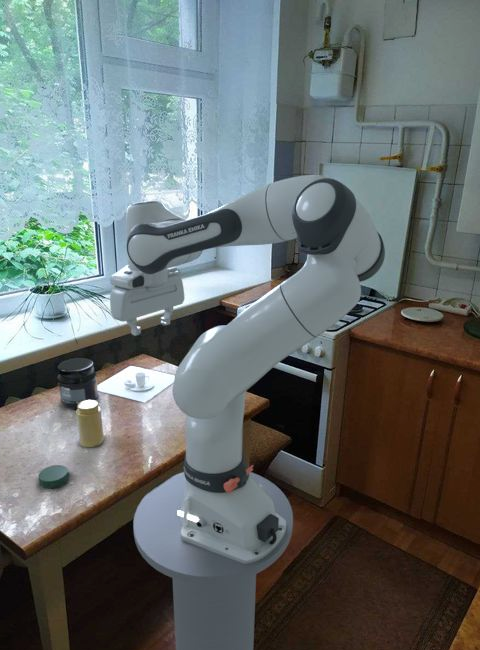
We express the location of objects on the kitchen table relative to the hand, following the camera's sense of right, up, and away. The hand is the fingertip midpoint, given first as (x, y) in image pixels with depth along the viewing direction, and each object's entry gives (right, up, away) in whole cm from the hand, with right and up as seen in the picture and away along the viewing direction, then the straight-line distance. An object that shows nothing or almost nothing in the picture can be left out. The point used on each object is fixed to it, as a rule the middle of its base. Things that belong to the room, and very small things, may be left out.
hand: (151, 329), depth 120 cm
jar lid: (-20, -33, -9) cm, 39 cm away
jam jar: (-17, -28, +6) cm, 33 cm away
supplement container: (-27, -20, +25) cm, 42 cm away
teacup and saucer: (-13, -16, +38) cm, 43 cm away
